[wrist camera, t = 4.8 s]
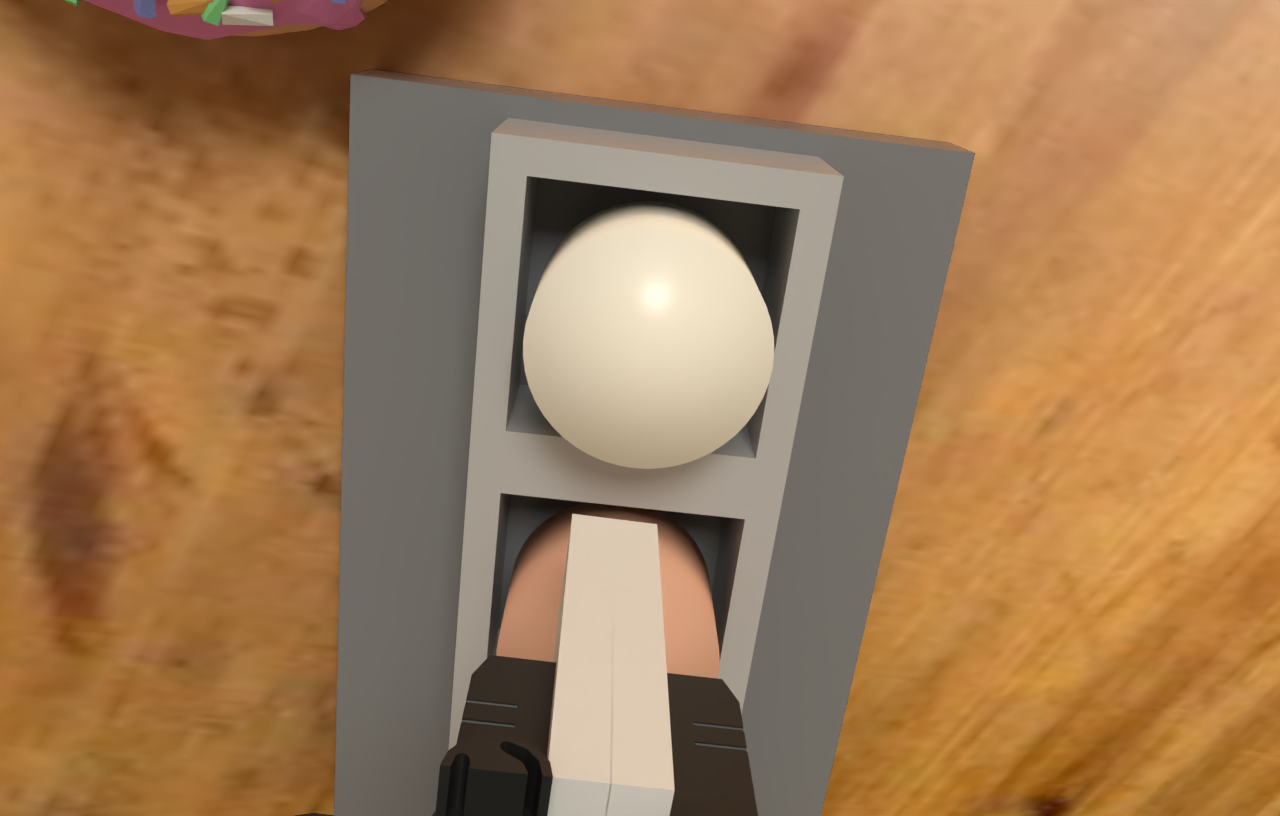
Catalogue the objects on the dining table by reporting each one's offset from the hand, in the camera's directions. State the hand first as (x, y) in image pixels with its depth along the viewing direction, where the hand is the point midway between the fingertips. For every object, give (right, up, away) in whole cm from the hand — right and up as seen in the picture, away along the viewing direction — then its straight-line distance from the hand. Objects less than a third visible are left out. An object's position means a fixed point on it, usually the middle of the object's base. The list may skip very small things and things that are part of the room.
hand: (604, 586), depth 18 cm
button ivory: (+1, +5, +4) cm, 7 cm away
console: (0, 0, +10) cm, 10 cm away
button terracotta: (0, -1, +7) cm, 7 cm away
